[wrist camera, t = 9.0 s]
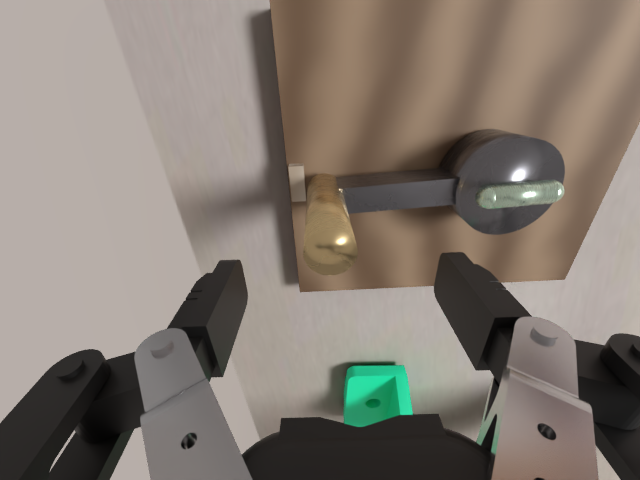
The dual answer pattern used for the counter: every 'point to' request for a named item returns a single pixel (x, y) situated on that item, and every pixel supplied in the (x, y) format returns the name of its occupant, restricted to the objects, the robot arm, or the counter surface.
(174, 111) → the counter surface
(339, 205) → the crank handle
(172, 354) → the robot arm
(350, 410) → the camera mount
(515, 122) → the walnut base
